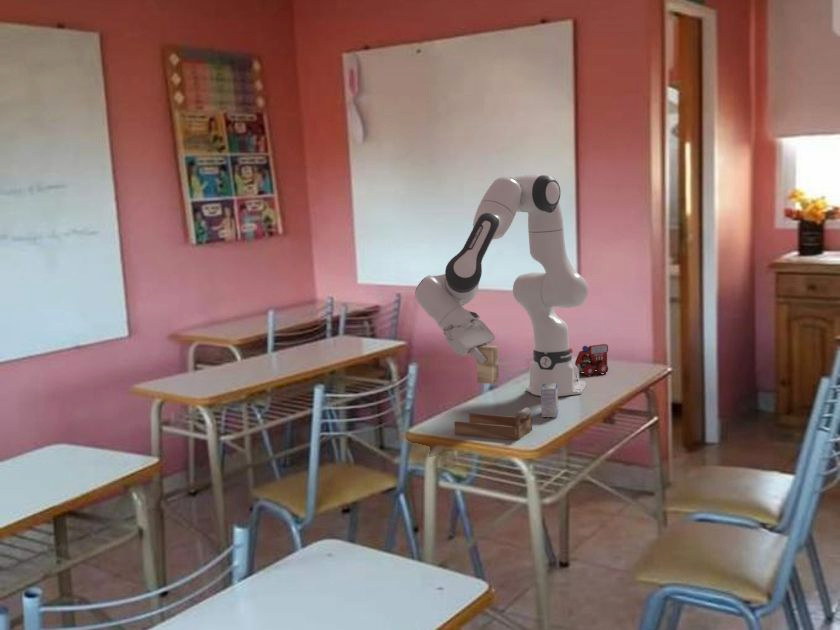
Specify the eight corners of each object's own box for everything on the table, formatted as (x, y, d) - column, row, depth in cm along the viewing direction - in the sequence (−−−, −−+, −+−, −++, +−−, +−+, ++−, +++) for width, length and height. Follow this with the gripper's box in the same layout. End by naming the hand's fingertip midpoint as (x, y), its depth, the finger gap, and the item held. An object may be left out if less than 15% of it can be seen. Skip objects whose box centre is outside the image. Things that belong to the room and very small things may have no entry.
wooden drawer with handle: (470, 424, 263) (469, 401, 262) (534, 430, 254) (533, 405, 253) (454, 434, 254) (453, 409, 253) (520, 440, 245) (519, 414, 244)
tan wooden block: (484, 379, 261) (483, 345, 260) (498, 380, 259) (497, 345, 258) (477, 382, 257) (476, 347, 256) (492, 383, 255) (491, 348, 254)
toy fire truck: (571, 373, 325) (570, 345, 324) (603, 370, 329) (602, 341, 327) (580, 377, 319) (579, 348, 317) (612, 373, 322) (611, 344, 321)
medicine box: (557, 418, 266) (556, 388, 265) (541, 418, 267) (540, 388, 266) (558, 411, 274) (557, 382, 273) (543, 411, 275) (542, 383, 274)
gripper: (447, 321, 250) (481, 358, 247) (479, 312, 268) (510, 346, 265) (433, 336, 253) (466, 373, 250) (465, 326, 271) (496, 361, 267)
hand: (489, 359), depth 257 cm, fingers closed on tan wooden block, 4 cm apart
